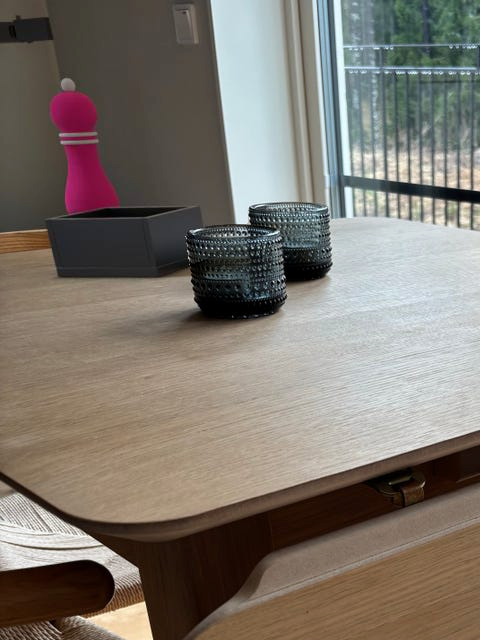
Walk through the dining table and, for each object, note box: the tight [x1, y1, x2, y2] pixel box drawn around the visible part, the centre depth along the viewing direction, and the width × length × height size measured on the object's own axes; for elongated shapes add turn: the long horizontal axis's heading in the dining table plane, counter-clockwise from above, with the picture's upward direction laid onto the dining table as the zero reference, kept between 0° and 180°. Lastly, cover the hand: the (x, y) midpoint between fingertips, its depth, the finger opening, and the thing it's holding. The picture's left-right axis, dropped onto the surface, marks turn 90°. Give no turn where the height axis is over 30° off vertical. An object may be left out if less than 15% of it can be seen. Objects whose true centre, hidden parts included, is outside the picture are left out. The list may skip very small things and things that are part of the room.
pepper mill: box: [49, 77, 121, 214], centre depth 136 cm, size 7×7×20 cm
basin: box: [44, 205, 204, 278], centre depth 112 cm, size 12×12×6 cm
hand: (8, 27), depth 131 cm, fingers open, 13 cm apart
